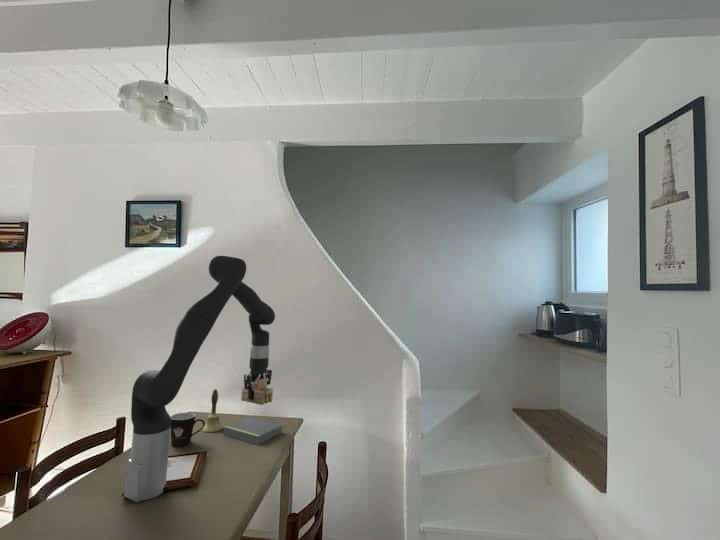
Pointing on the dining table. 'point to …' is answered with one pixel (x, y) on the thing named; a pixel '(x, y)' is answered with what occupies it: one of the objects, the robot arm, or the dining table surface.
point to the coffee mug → (183, 428)
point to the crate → (260, 384)
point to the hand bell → (213, 416)
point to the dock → (252, 430)
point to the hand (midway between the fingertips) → (257, 397)
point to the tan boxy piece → (258, 396)
